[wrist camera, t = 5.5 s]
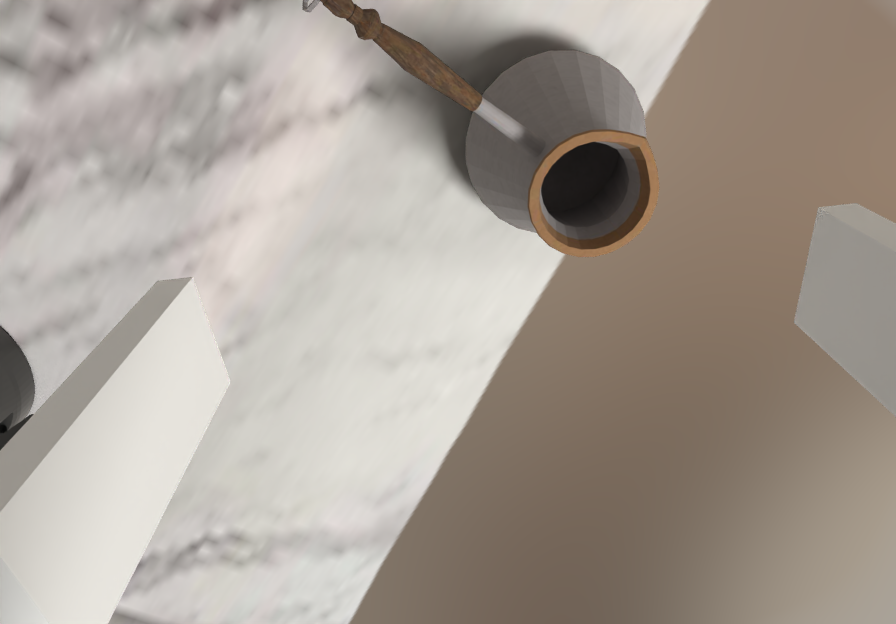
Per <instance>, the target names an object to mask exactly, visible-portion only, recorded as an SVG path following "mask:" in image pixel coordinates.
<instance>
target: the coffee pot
mask: <svg viewBox="0 0 896 624" xmlns="http://www.w3.org/2000/svg"><path fill="white" fill-rule="evenodd" d="M308 1H309V0H303V10H304V11H306V12H311V11H312V10H313V9H314V8H315V7H316V5H317V4H318V3H319V1H321V2H323V5H324V6H325V7H327V8H328V9H329V10H330V11H331V12H332V13H333V14H334V15H335V16H337V17H340V18H346V20H347V21H349V22H350V23H351V24H353V25H354V27H355V30H356V33H357V36H358V37H359V38H360V39H363V40H368V39H373V41H374V42H375V43H377V44H378V45H379V46H380V47H381V48H382V49H383V50H384V51H385V52H386V53H387V54H388V55H389V56H390V57H392V58H393V59H394V60H395V61H396V62H397V63H398V64H399V65H400V66H401V67H402V68H403V69H404V70H405V71H407V72H409V73H410V74H412V75H413V76H415V77H417V78H418V79H420V80H422V81H423V82H425V83H426V84H428V85H430V86H431V87H433V88H434V89H436V90H438V91H439V92H441V93H443V94H444V95H446V96H447V97H449V98H451V99H452V100H454V101H455V102H457V103H459V104H460V105H462V106H464V107H465V108H467V109H468V110H470V111H473V113H472V116H471V120H470V123H469V127H468V131H467V135H466V165H467V169H468V172H469V176H470V180H471V183H472V185H473V187H474V189H475V190H476V192H477V194H478V195H479V197H480V199H481V201H482V202H483V203H484V204H485V205H486V206H487V207H488V208H489V209H490V210H491V211H492V212H493V213H494V214H495V215H496V216H497V217H498V218H499V219H501V220H503V221H505V222H507V223H509V224H511V225H513V226H514V227H516V228H519V229H523V230H527V231H531V232H536V233H537V234H538V235H539V236H540V237H541V238H542V239H543V240H544V241H545V242H546V243H547V244H548V245H549V246H550V247H552V248H554V249H556V250H558V251H560V252H562V253H564V254H569V255H573V256H577V257H594V256H595V257H596V256H599V255H603V254H607V253H610V252H613V251H615V250H617V249H619V248H620V247H622V246H624V245H626V244H627V243H629V242H630V241H631V240H632V239H633V238H634V237H636V236H637V235H638V234H639V233H640V232H641V231H642V229H643V228H644V226H645V225H646V224H647V223H648V221H649V220H650V218H651V216H652V213H653V211H654V209H655V206H656V204H657V198H658V192H659V179H658V171H657V166H656V163H655V159H654V156H653V153H652V151H651V148H650V146H649V144H648V141H647V139H646V128H645V119H644V111H643V109H642V106H641V104H640V101H639V99H638V97H637V94H636V92H635V89H634V88H633V86H632V85H631V84H630V83H629V82H628V80H627V79H626V78H625V77H624V76H623V74H622V73H621V72H620V71H619V70H618V69H617V68H615V67H614V66H612V65H611V64H609V63H608V62H606V61H604V60H603V59H601V58H600V57H598V56H594V55H591V54H587V53H584V52H580V51H577V50H552V51H547V52H543V53H540V54H537V55H534V56H530V57H527V58H524V59H523V60H521V61H520V62H518V63H516V64H515V65H513V66H512V67H510V68H508V69H507V70H505V71H504V72H502V73H501V74H500V75H499V76H498V78H497V79H496V80H495V81H494V82H493V83H492V84H491V85H490V86H489V87H488V88H487V89H486V90H485V91H484V93H483V95H481V94H480V93H479V92H478V91H476V90H475V89H474V88H473V87H472V86H470V85H469V84H468V83H467V82H466V81H465V80H463V79H462V78H461V77H460V76H459V75H457V74H456V73H455V72H454V71H453V70H452V69H450V68H449V67H448V66H447V65H446V64H444V63H443V62H442V61H441V60H440V59H439V58H437V57H436V56H435V55H434V54H433V53H431V52H430V51H429V50H428V49H427V48H426V47H424V46H423V45H422V44H421V43H419V42H417V41H415V40H413V39H411V38H409V37H407V36H405V35H403V34H402V33H400V32H398V31H396V30H394V29H392V28H391V27H389V26H387V25H385V24H383V23H381V20H380V17H379V14H378V12H377V11H376V10H375V9H361V8H360V7H358V6H357V5H356V4H353V2H352V0H314V1H313V2H312V3H311V4H310V5H309V6H307V4H308Z"/></svg>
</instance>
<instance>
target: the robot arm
mask: <svg viewBox="0 0 896 624" xmlns="http://www.w3.org/2000/svg"><path fill="white" fill-rule="evenodd" d="M794 323H795V324H796V325H797V326H798V327H799V328H800V329H802V330H803V331H804V332H805V333H806V334H807V335H808V336H810V338H811V339H812V340H814V341H815V342H816V343H817V344H818V345H819V346H820V347H821V348H822V349H823V350H824V351H825V352H826V353H828V354H829V355H830V356H831V357H832V358H833V359H834V360H835V361H836V362H837V363H838V364H839V365H841V367H843V368H844V369H845V370H846V371H847V372H848V373H849V374H850V375H851V376H852V377H853V378H854V379H856V380H857V381H858V382H859V383H860V384H861V385H862V386H863V387H864V388H865V389H866V390H867V391H868V392H869V393H871V394H872V395H873V396H874V397H875V398H876V399H877V400H878V401H879V402H880V403H881V404H883V405H884V406H885V407H886V408H887V409H888V410H889V411H890V412H891V413H892V414H893V415H894V416H896V223H894V222H891V221H890V220H888V219H886V218H884V217H882V216H880V215H878V214H876V213H874V212H872V211H870V210H868V209H866V208H864V207H862V206H860V205H859V204H857V203H854V204H845V205H836V206H827V207H819V208H818V211H817V216H816V221H815V226H814V231H813V235H812V240H811V244H810V249H809V254H808V259H807V263H806V268H805V273H804V278H803V282H802V287H801V291H800V296H799V301H798V306H797V310H796V315H795V320H794ZM229 384H230V379H229V376H228V373H227V371H226V368H225V365H224V362H223V360H222V357H221V354H220V351H219V348H218V346H217V343H216V340H215V337H214V335H213V332H212V329H211V326H210V323H209V321H208V318H207V315H206V312H205V310H204V307H203V304H202V301H201V299H200V296H199V293H198V290H197V287H196V285H195V282H194V279H193V277H189V278H180V279H171V280H162V281H157V282H156V283H155V284H154V285H153V286H152V287H151V289H150V290H149V291H148V292H147V293H146V294H145V295H144V296H143V297H142V298H141V299H140V300H139V301H138V303H137V304H136V305H135V306H134V307H133V308H132V309H131V310H130V311H129V312H128V313H127V314H126V315H125V317H124V318H123V319H122V320H121V321H120V322H119V323H118V324H117V325H116V326H115V327H114V328H113V330H112V331H111V332H110V333H109V334H108V335H107V336H106V337H105V338H104V339H103V340H102V341H101V342H100V344H99V345H98V346H97V347H96V348H95V349H94V350H93V351H92V352H91V353H90V354H89V355H88V356H87V358H86V359H85V360H84V361H83V362H82V363H81V364H80V365H79V366H78V367H77V368H76V369H75V370H74V372H73V373H72V374H71V375H70V376H69V377H68V378H67V379H66V380H65V381H64V382H63V383H62V384H61V386H60V387H59V388H58V389H57V390H56V391H55V392H54V393H53V394H52V395H51V396H50V397H49V398H48V400H47V401H46V402H45V403H44V404H43V405H42V406H41V407H40V408H39V409H38V410H37V411H36V413H35V414H31V415H29V416H28V417H26V416H27V415H28V413H29V411H30V409H31V407H32V404H33V401H34V394H35V385H34V379H33V375H32V372H31V369H30V366H29V364H28V362H27V360H26V358H25V356H24V354H23V353H22V351H21V350H20V348H19V347H18V345H17V344H16V343H15V342H14V340H13V339H12V338H11V337H10V336H9V335H8V334H7V333H6V332H5V331H4V330H3V329H2V328H1V327H0V624H108V622H109V620H110V618H111V616H112V614H113V612H114V610H115V608H116V606H117V604H118V603H119V601H120V599H121V597H122V595H123V593H124V591H125V589H126V587H127V585H128V583H129V581H130V579H131V577H132V575H133V573H134V571H135V569H136V567H137V565H138V563H139V561H140V559H141V557H142V555H143V553H144V551H145V549H146V547H147V545H148V543H149V541H150V539H151V537H152V535H153V534H154V532H155V530H156V528H157V526H158V524H159V522H160V520H161V518H162V516H163V514H164V512H165V510H166V508H167V506H168V504H169V502H170V500H171V498H172V496H173V494H174V492H175V490H176V488H177V486H178V484H179V482H180V480H181V478H182V476H183V474H184V472H185V470H186V468H187V466H188V465H189V463H190V461H191V459H192V457H193V455H194V453H195V451H196V449H197V447H198V445H199V443H200V441H201V439H202V437H203V435H204V433H205V431H206V429H207V427H208V425H209V423H210V421H211V419H212V417H213V415H214V413H215V411H216V409H217V407H218V405H219V403H220V401H221V399H222V397H223V396H224V394H225V392H226V390H227V388H228V386H229ZM25 417H26V418H25Z"/></svg>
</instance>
